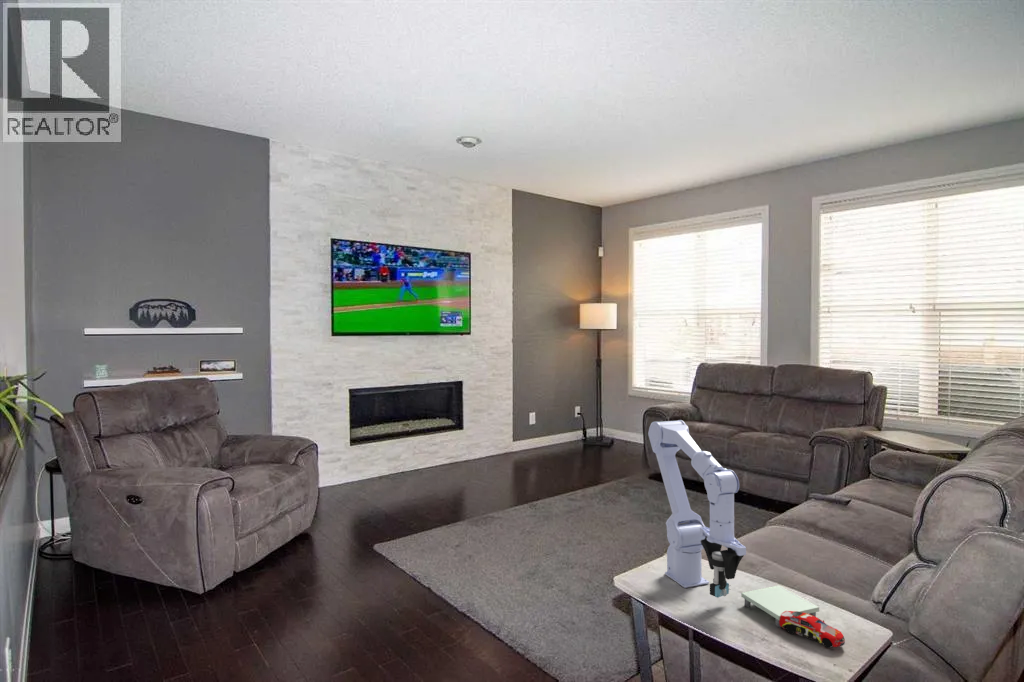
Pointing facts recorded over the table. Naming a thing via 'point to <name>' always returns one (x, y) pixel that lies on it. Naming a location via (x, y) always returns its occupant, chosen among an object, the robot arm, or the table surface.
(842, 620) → the table surface
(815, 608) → the stand
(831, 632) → the race car
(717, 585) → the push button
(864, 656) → the table surface
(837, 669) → the table surface
